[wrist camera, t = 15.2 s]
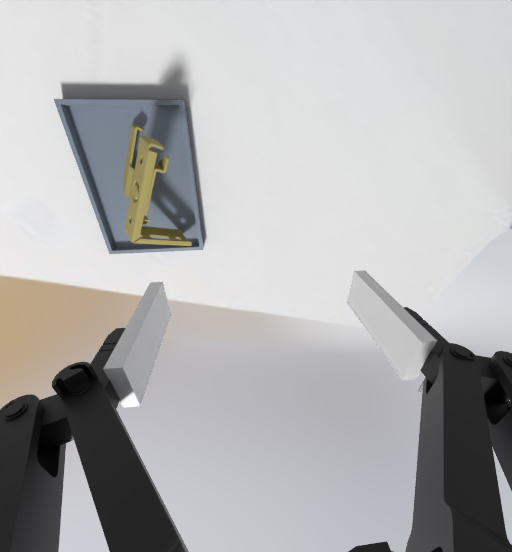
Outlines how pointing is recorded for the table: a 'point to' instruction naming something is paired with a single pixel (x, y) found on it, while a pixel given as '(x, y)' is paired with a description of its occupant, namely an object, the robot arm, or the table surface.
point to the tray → (111, 165)
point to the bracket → (145, 192)
